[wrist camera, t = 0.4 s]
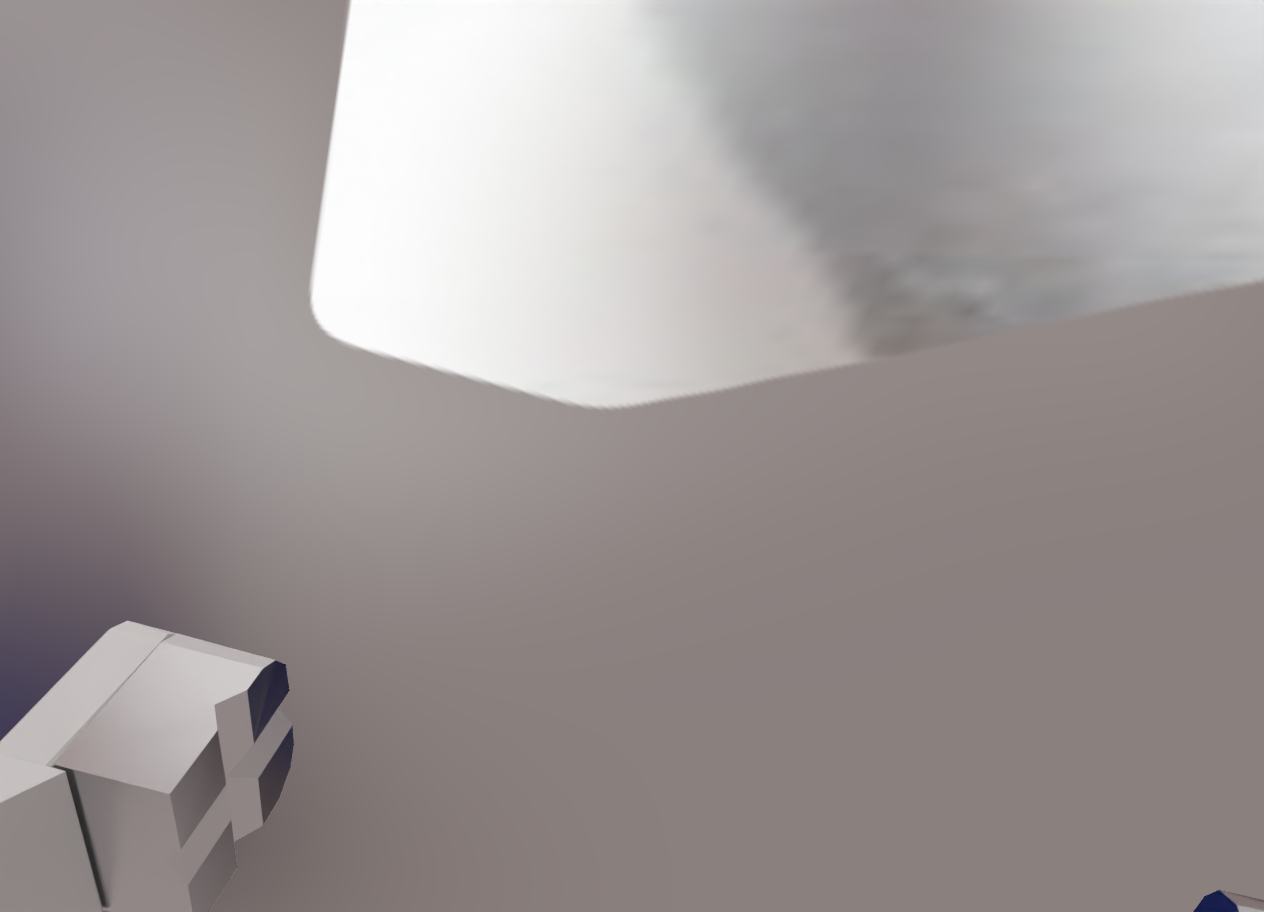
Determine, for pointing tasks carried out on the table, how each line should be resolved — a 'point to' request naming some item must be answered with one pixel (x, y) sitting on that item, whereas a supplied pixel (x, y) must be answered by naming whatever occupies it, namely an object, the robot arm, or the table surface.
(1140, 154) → the table surface
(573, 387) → the table surface
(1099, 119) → the table surface
